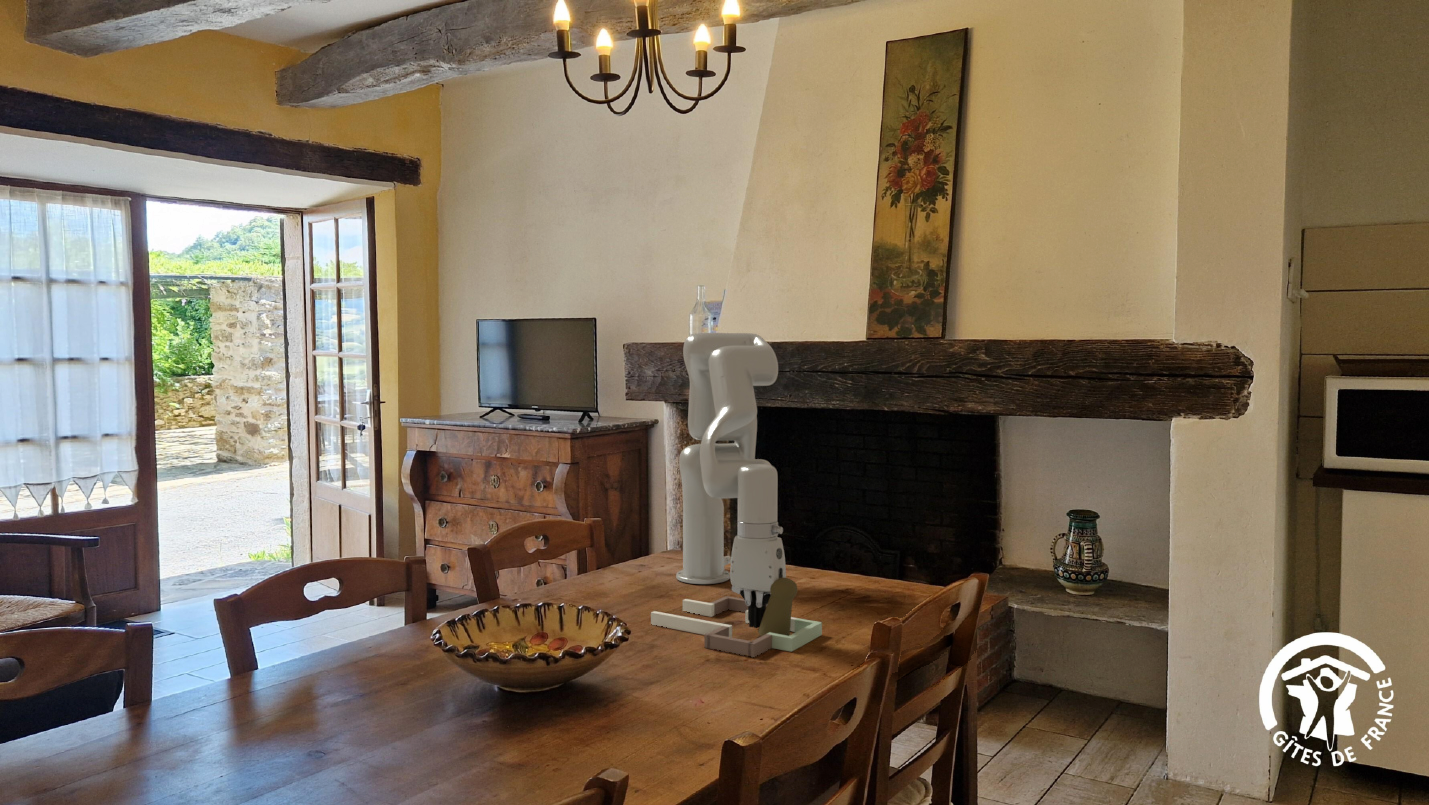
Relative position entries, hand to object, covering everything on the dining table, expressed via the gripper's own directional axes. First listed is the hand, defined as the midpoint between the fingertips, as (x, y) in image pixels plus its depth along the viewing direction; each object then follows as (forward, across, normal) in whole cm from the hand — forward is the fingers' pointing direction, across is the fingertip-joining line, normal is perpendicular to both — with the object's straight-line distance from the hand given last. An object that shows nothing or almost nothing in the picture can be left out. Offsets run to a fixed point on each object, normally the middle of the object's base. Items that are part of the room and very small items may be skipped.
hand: (756, 625), depth 187 cm
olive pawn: (+1, -4, 0) cm, 4 cm away
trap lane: (+2, +6, 0) cm, 6 cm away
